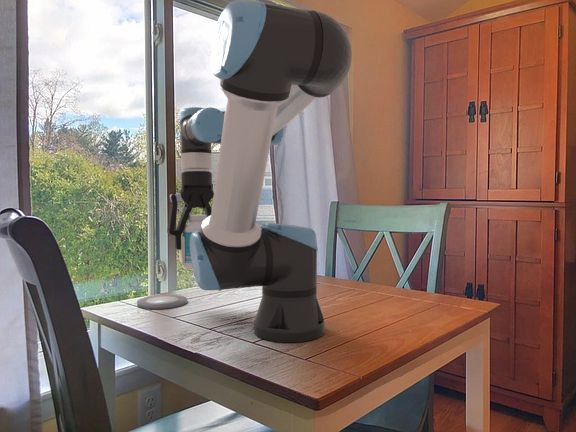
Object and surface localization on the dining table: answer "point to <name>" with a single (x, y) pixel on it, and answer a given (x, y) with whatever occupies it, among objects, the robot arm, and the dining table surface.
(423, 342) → the dining table surface
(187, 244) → the pill bottle
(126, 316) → the dining table surface
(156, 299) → the coaster
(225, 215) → the robot arm
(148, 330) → the dining table surface
